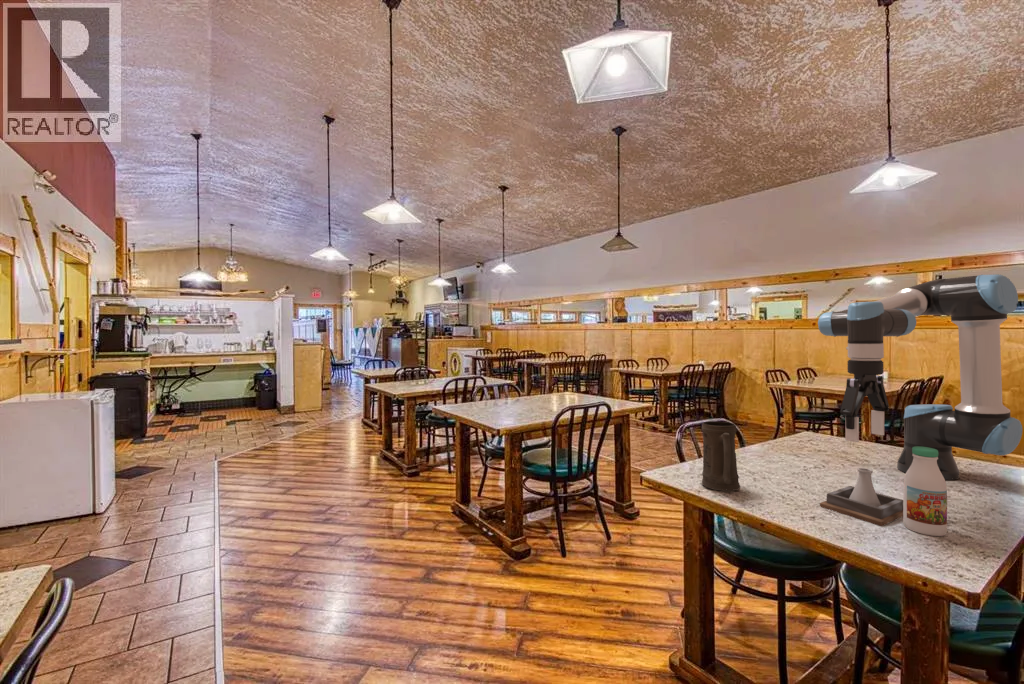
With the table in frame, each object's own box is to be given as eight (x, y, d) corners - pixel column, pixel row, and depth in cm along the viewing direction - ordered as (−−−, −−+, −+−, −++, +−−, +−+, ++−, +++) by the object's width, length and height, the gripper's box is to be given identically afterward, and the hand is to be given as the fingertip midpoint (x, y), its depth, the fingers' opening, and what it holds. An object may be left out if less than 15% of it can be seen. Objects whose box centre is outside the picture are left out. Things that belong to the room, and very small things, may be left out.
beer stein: (695, 480, 143) (695, 419, 142) (728, 480, 142) (728, 419, 142) (716, 498, 127) (715, 430, 127) (753, 498, 127) (753, 430, 126)
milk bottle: (894, 523, 109) (895, 444, 109) (922, 522, 110) (923, 443, 109) (926, 538, 101) (926, 453, 101) (956, 536, 102) (957, 452, 102)
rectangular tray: (850, 495, 128) (850, 483, 128) (911, 513, 115) (911, 499, 115) (819, 506, 120) (819, 494, 120) (881, 526, 108) (881, 512, 108)
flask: (888, 512, 113) (889, 474, 113) (857, 510, 115) (857, 473, 115) (871, 501, 121) (871, 466, 120) (842, 500, 122) (842, 464, 122)
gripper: (871, 356, 126) (871, 429, 126) (824, 361, 114) (824, 440, 115) (904, 357, 119) (904, 434, 120) (857, 362, 108) (857, 447, 108)
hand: (865, 437), depth 117 cm, fingers open, 13 cm apart
